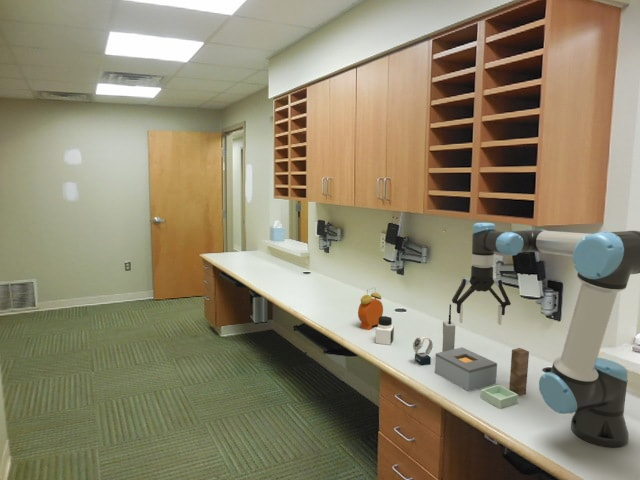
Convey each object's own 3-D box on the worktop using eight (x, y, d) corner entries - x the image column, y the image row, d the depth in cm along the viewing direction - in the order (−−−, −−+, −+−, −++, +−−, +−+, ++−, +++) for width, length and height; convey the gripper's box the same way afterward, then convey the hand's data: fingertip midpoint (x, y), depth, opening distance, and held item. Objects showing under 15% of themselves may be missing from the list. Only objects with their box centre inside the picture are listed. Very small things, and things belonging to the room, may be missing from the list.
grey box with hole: (495, 383, 180) (497, 363, 178) (468, 391, 173) (469, 370, 172) (461, 365, 195) (462, 347, 194) (434, 372, 189) (435, 353, 188)
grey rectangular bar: (449, 359, 202) (452, 302, 198) (453, 363, 197) (456, 305, 193) (441, 359, 202) (443, 302, 198) (444, 364, 197) (447, 305, 193)
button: (474, 366, 182) (475, 361, 182) (465, 369, 180) (465, 364, 180) (465, 362, 187) (465, 357, 186) (455, 364, 184) (455, 359, 184)
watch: (410, 361, 200) (411, 336, 198) (427, 358, 202) (428, 334, 201) (416, 366, 195) (417, 340, 193) (434, 364, 197) (435, 338, 195)
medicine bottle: (390, 345, 218) (391, 320, 216) (375, 343, 220) (375, 318, 218) (393, 340, 224) (394, 315, 222) (378, 338, 227) (379, 313, 225)
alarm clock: (373, 322, 250) (374, 285, 247) (383, 324, 246) (383, 287, 243) (357, 328, 241) (357, 289, 238) (366, 331, 236) (367, 291, 233)
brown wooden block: (525, 393, 171) (529, 351, 169) (518, 396, 169) (521, 353, 167) (516, 389, 175) (519, 347, 172) (509, 391, 173) (511, 349, 171)
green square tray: (517, 403, 165) (518, 394, 164) (500, 408, 161) (500, 400, 160) (498, 392, 172) (498, 384, 172) (480, 397, 168) (481, 389, 168)
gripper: (516, 264, 173) (513, 321, 176) (445, 263, 177) (444, 318, 180) (521, 268, 166) (518, 327, 169) (447, 266, 170) (445, 324, 173)
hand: (479, 322), depth 175 cm, fingers open, 13 cm apart
